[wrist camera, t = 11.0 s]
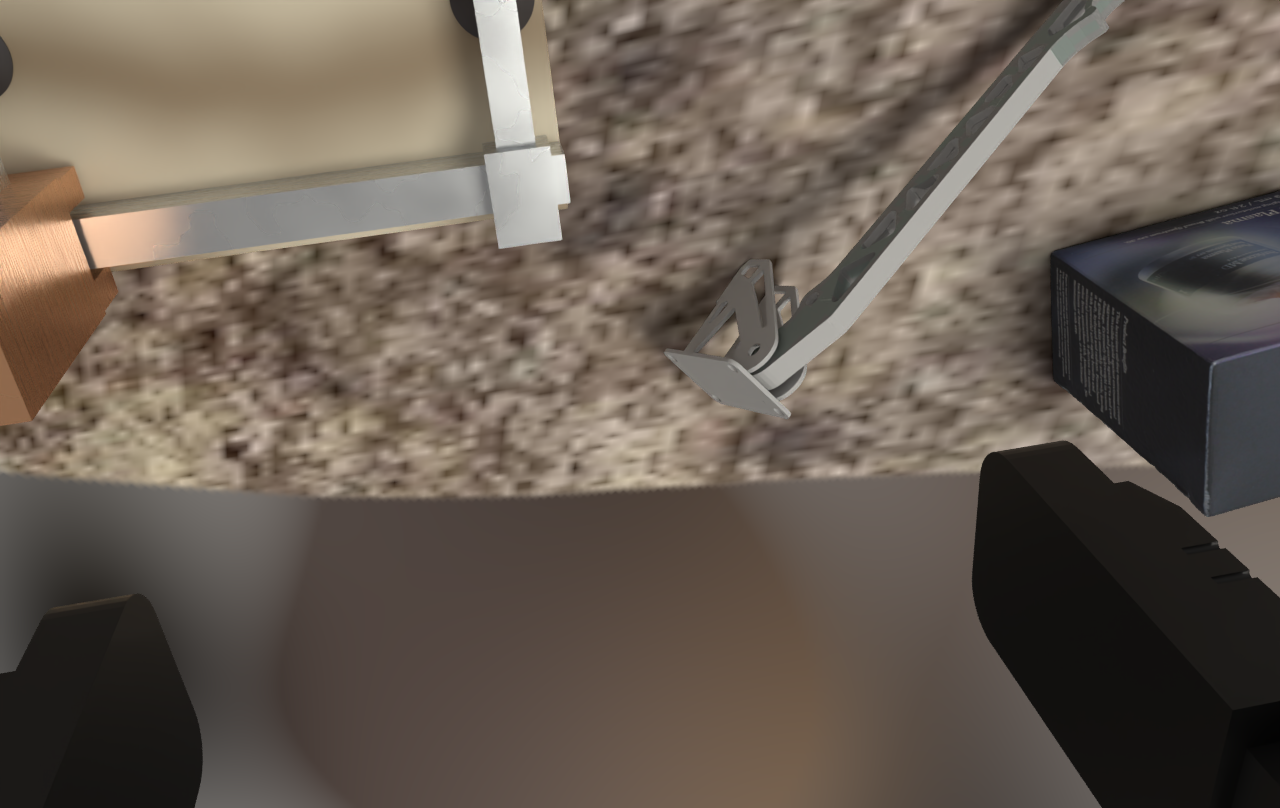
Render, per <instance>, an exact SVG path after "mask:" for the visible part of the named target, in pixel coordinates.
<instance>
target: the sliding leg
mask: <svg viewBox="0 0 1280 808" xmlns="http://www.w3.org/2000/svg"><path fill="white" fill-rule="evenodd" d="M84 198H85V196H84V193H83V190H82V188H81V185H80V182H79V179H78V176H77V173H76V171H75V168H74V166H70V167H62V168H54V169H47V170H39V171H31V172H23V173H16V174H8V175H7V173H6V171H5V168H4V165H3V163H2V160H1V158H0V426H2V425H9V424H15V423H22V422H28V421H32V420H33V419H34V417H35V416H36V414H37V413H38V411H39V410H40V409H41V407H42V406H43V404H44V403H45V401H46V400H47V398H48V397H49V396H50V394H51V393H52V391H53V390H54V388H55V387H56V385H57V384H58V383H59V381H60V380H61V378H62V377H63V375H64V374H65V372H66V371H67V370H68V368H69V367H70V365H71V364H72V362H73V361H74V359H75V358H76V356H77V355H78V354H79V352H80V351H81V349H82V348H83V346H84V345H85V343H86V342H87V341H88V339H89V338H90V336H91V335H92V333H93V332H94V330H95V329H96V328H97V326H98V325H99V323H100V322H101V320H102V319H103V317H104V316H105V315H106V313H105V310H106V309H107V307H108V306H109V304H110V303H111V302H112V300H113V299H114V297H115V296H116V294H117V293H118V290H117V287H116V284H115V281H114V278H113V275H112V273H111V270H110V267H104V268H97V269H90V268H89V266H88V263H87V260H86V257H85V255H84V252H83V249H82V246H81V244H80V241H79V238H78V235H77V233H76V230H75V227H74V224H73V222H72V219H71V216H70V212H71V211H72V210H73V209H74V208H75V207H76V206H77V205H78V204H79V203H80V202H81V201H82V200H83V199H84Z"/></svg>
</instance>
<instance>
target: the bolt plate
mask: <svg viewBox="0 0 1280 808" xmlns="http://www.w3.org/2000/svg"><path fill="white" fill-rule="evenodd" d="M516 5H517V12H518V19H519V26H520V34H521V41H522V48H523V55H524V63H525V70H526V77H527V85H528V92H529V99H530V106H531V114H532V121H533V128H534V135H535V136H538V135H546V136H547V139H548V142H549V143H552V142H560V141H559V133H558V125H557V118H556V110H555V102H554V94H553V86H552V78H551V70H550V62H549V54H548V46H547V38H546V31H545V23H544V15H543V7H542V0H516ZM492 141H495V138H494V131H493V125H492V119H491V112H490V106H489V99H488V93H487V87H486V80H485V74H484V67H483V61H482V54H481V48H480V42H479V35H478V29H477V22H476V16H475V10H474V3H473V0H0V158H1V160H2V163H3V165H4V168H5V171H6V173H7V175H8V174H16V173H23V172H31V171H39V170H47V169H54V168H62V167H70V166H74V168H75V171H76V173H77V176H78V179H79V182H80V185H81V188H82V190H83V193H84V196H85V198H84V199H83V200H82V201H81V202H80V203H79V204H78V205H85V204H92V203H100V202H107V201H115V200H122V199H130V198H137V197H145V196H152V195H160V194H168V193H175V192H183V191H190V190H198V189H205V188H213V187H220V186H228V185H235V184H243V183H251V182H258V181H266V180H273V179H281V178H288V177H296V176H303V175H311V174H318V173H326V172H333V171H341V170H349V169H356V168H364V167H371V166H379V165H386V164H394V163H401V162H409V161H416V160H424V159H432V158H439V157H447V156H454V155H462V154H469V153H477V152H483V145H482V143H485V142H492ZM567 208H568V205H567V203H566V204H559V205H558V210H560V209H567ZM488 219H494V214H487V215H479V216H472V217H465V218H458V219H450V220H443V221H436V222H429V223H422V224H414V225H407V226H400V227H393V228H385V229H378V230H371V231H364V232H357V233H349V234H342V235H335V236H328V237H320V238H313V239H306V240H299V241H292V242H284V243H277V244H270V245H263V246H255V247H248V248H241V249H234V250H227V251H219V252H212V253H205V254H198V255H190V256H183V257H176V258H169V259H162V260H154V261H147V262H140V263H133V264H126V265H118V266H111V267H110V270H111V272H114V271H121V270H128V269H136V268H143V267H150V266H157V265H164V264H172V263H179V262H186V261H193V260H200V259H208V258H215V257H222V256H229V255H236V254H244V253H251V252H258V251H265V250H272V249H279V248H287V247H294V246H301V245H308V244H315V243H323V242H330V241H337V240H344V239H351V238H359V237H366V236H373V235H380V234H387V233H395V232H402V231H409V230H416V229H423V228H431V227H438V226H445V225H452V224H459V223H467V222H474V221H481V220H488Z"/></svg>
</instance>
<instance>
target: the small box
mask: <svg viewBox="0 0 1280 808" xmlns="http://www.w3.org/2000/svg"><path fill="white" fill-rule="evenodd" d="M1051 311H1052V344H1053V377H1054V381H1055V382H1056V383H1057V384H1058V385H1059V386H1061V387H1062V388H1063V389H1065V390H1067V391H1068V392H1069V393H1070V394H1071V395H1072V396H1073V397H1075V398H1076V399H1077V400H1078V401H1079V402H1081V403H1082V404H1083V405H1084V406H1085V407H1086V408H1087V409H1088V410H1089V411H1090V412H1092V413H1093V414H1094V415H1095V416H1096V417H1098V418H1099V419H1100V420H1102V421H1103V423H1104V424H1106V425H1107V426H1108V427H1109V428H1110V429H1111V430H1112V431H1114V432H1115V433H1116V434H1117V435H1118V436H1119V437H1120V438H1121V439H1123V440H1124V441H1125V442H1126V443H1127V444H1128V445H1129V446H1131V447H1132V448H1133V449H1134V450H1135V451H1136V452H1137V453H1138V454H1139V455H1140V456H1142V457H1143V458H1144V459H1146V460H1147V461H1148V462H1149V463H1150V464H1151V465H1153V466H1155V468H1156V469H1157V470H1158V471H1159V472H1160V473H1162V474H1163V475H1164V476H1165V477H1166V478H1167V479H1168V480H1169V481H1171V482H1172V483H1173V484H1174V485H1175V487H1176V488H1177V489H1178V490H1180V491H1181V492H1182V493H1183V494H1184V495H1185V496H1186V497H1188V498H1189V499H1190V501H1191V502H1192V504H1194V505H1195V507H1196V508H1197V509H1198V510H1199V511H1201V513H1202V514H1204V515H1205V516H1207V517H1210V516H1215V515H1218V514H1222V513H1225V512H1228V511H1232V510H1235V509H1239V508H1243V507H1246V506H1250V505H1253V504H1256V503H1260V502H1263V501H1267V500H1271V499H1274V498H1278V497H1280V191H1278V192H1274V193H1270V194H1267V195H1263V196H1259V197H1255V198H1252V199H1248V200H1244V201H1240V202H1237V203H1233V204H1230V205H1226V206H1222V207H1218V208H1215V209H1211V210H1207V211H1204V212H1200V213H1196V214H1192V215H1188V216H1185V217H1182V218H1178V219H1173V220H1170V221H1166V222H1162V223H1158V224H1155V225H1151V226H1147V227H1144V228H1139V229H1136V230H1133V231H1129V232H1125V233H1122V234H1118V235H1114V236H1110V237H1106V238H1102V239H1098V240H1095V241H1091V242H1087V243H1084V244H1080V245H1076V246H1072V247H1069V248H1065V249H1061V250H1057V251H1054V252H1052V253H1051Z"/></svg>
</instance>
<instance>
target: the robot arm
mask: <svg viewBox="0 0 1280 808" xmlns="http://www.w3.org/2000/svg"><path fill="white" fill-rule="evenodd" d="M972 589H973V597H974V602H975V606H976V610H977V614H978V617H979V620H980V623H981V625H982V628H983V630H984V632H985V634H986V636H987V638H988V640H989V641H990V643H991V644H992V646H993V647H994V649H995V650H996V652H997V653H998V655H999V656H1000V658H1001V659H1002V661H1003V662H1004V663H1005V665H1006V667H1007V668H1008V669H1009V671H1010V672H1011V674H1012V675H1013V677H1014V678H1015V680H1016V681H1017V683H1018V684H1019V686H1020V687H1021V688H1022V690H1023V692H1024V693H1025V695H1026V696H1027V698H1028V699H1029V701H1030V702H1031V704H1032V705H1033V706H1034V708H1035V709H1036V711H1037V712H1038V714H1039V715H1040V717H1041V718H1042V720H1043V721H1044V723H1045V724H1046V726H1047V727H1048V728H1049V730H1050V732H1051V733H1052V734H1053V736H1054V737H1055V739H1056V740H1057V742H1058V743H1059V745H1060V746H1061V748H1062V749H1063V751H1064V752H1065V754H1066V755H1067V757H1068V758H1069V760H1070V761H1071V763H1072V764H1073V766H1074V767H1075V769H1076V770H1077V771H1078V773H1079V775H1080V776H1081V777H1082V779H1083V780H1084V782H1085V783H1086V785H1087V786H1088V788H1089V789H1090V791H1091V792H1092V794H1093V795H1094V797H1095V798H1096V799H1097V801H1098V803H1099V804H1100V806H1101V807H1102V808H1280V598H1279V597H1278V596H1277V595H1276V594H1275V593H1274V592H1273V591H1272V590H1271V589H1270V588H1268V587H1267V586H1266V585H1265V584H1264V583H1263V582H1262V581H1261V580H1260V579H1259V578H1258V577H1257V578H1251V576H1250V574H1249V569H1248V568H1247V567H1246V566H1245V565H1243V564H1242V563H1241V562H1240V561H1239V560H1238V559H1237V558H1236V557H1235V556H1234V555H1232V554H1231V553H1230V552H1229V551H1228V550H1227V549H1226V548H1224V549H1220V548H1219V546H1218V541H1217V540H1216V539H1215V538H1214V537H1213V536H1211V534H1210V533H1208V532H1207V531H1206V530H1205V529H1204V528H1203V527H1202V526H1201V525H1200V524H1199V523H1197V522H1196V521H1195V520H1194V519H1193V518H1192V517H1191V516H1190V515H1189V514H1188V513H1187V512H1186V511H1184V510H1183V509H1182V508H1181V507H1180V506H1178V505H1176V504H1174V503H1172V502H1170V501H1168V500H1166V499H1164V498H1162V497H1159V496H1158V495H1156V494H1153V493H1152V492H1150V491H1147V490H1146V489H1143V488H1141V487H1140V486H1137V485H1136V484H1133V483H1131V482H1129V481H1126V482H1120V483H1113V482H1112V481H1111V480H1110V479H1109V478H1108V477H1107V476H1106V475H1105V474H1104V473H1103V472H1102V471H1101V470H1100V469H1099V468H1098V467H1097V466H1096V465H1095V464H1094V463H1093V462H1092V461H1091V460H1089V459H1088V458H1087V457H1086V456H1085V455H1084V454H1083V453H1082V452H1081V451H1080V450H1079V449H1078V448H1077V447H1076V446H1075V445H1073V444H1072V443H1070V442H1068V441H1057V442H1051V443H1045V444H1039V445H1034V446H1028V447H1022V448H1016V449H1010V450H1004V451H998V452H992V453H990V454H988V455H987V456H986V458H985V459H984V461H983V463H982V467H981V472H980V483H979V495H978V508H977V520H976V532H975V545H974V557H973V571H972ZM202 755H203V753H202V740H201V733H200V728H199V723H198V719H197V716H196V713H195V710H194V708H193V705H192V703H191V700H190V698H189V695H188V693H187V690H186V688H185V685H184V682H183V680H182V678H181V675H180V672H179V670H178V667H177V665H176V662H175V660H174V657H173V655H172V652H171V650H170V647H169V645H168V642H167V640H166V638H165V635H164V632H163V630H162V627H161V625H160V622H159V619H158V617H157V615H156V612H155V610H154V608H153V606H152V604H151V603H150V601H149V600H148V599H147V598H146V597H145V596H143V595H142V594H132V595H126V596H120V597H114V598H109V599H102V600H96V601H90V602H85V603H79V604H73V605H67V606H61V607H55V608H52V609H50V610H49V611H48V612H47V613H46V614H45V615H44V616H43V618H42V620H41V621H40V623H39V626H38V627H37V629H36V631H35V633H34V635H33V637H32V639H31V641H30V643H29V645H28V647H27V649H26V651H25V653H24V655H23V657H22V659H21V661H20V663H19V665H18V667H17V669H16V671H13V672H7V673H1V674H0V808H195V803H196V800H197V795H198V792H199V787H200V783H201V777H202V765H203V756H202Z"/></svg>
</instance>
